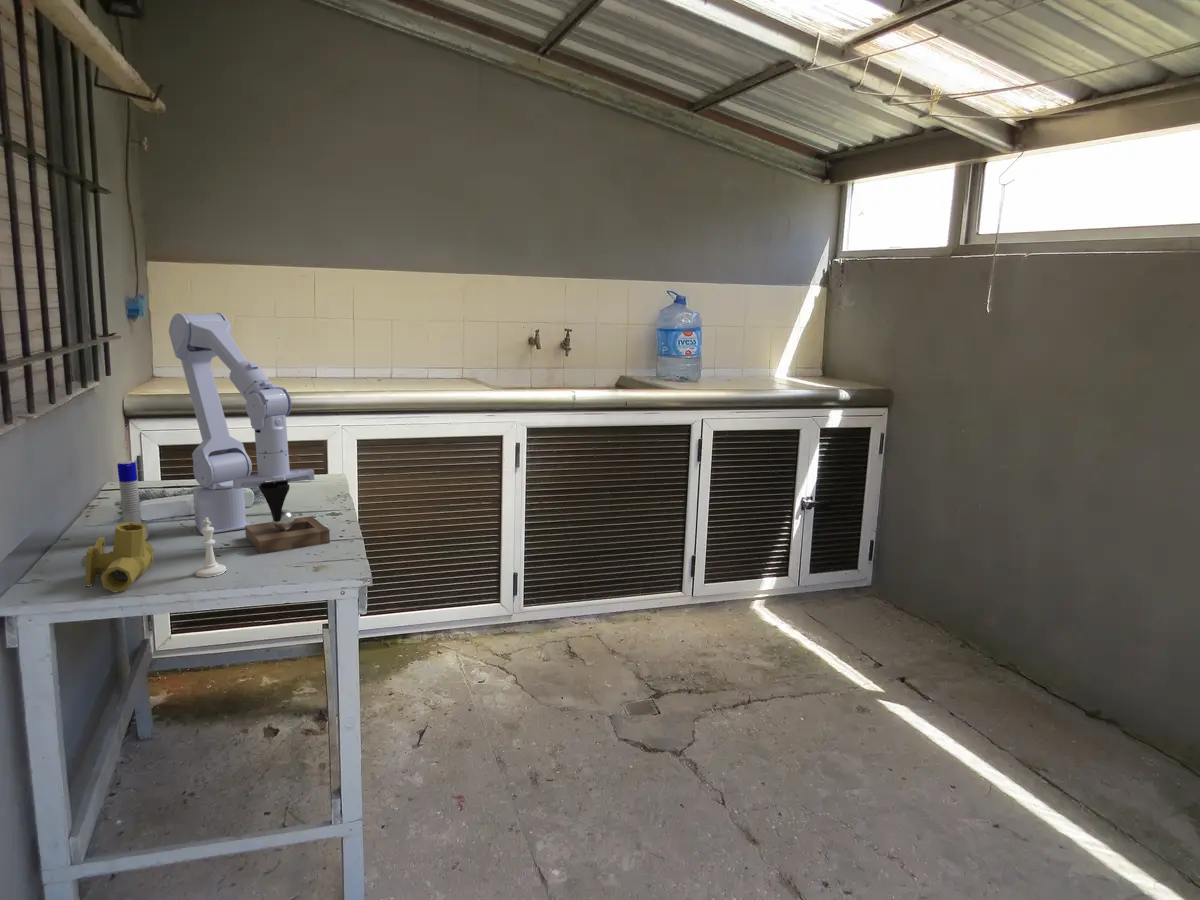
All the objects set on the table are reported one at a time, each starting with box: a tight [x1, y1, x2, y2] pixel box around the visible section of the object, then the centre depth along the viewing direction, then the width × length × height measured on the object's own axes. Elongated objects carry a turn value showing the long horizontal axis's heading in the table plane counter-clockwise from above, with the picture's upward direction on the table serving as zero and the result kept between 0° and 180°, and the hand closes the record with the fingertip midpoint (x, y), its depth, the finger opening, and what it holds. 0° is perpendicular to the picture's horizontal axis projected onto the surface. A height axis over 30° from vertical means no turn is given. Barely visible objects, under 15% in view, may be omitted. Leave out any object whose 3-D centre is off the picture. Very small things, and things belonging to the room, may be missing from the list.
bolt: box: [117, 460, 149, 541], centre depth 158 cm, size 16×5×5 cm
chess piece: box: [195, 517, 227, 578], centre depth 141 cm, size 5×5×10 cm
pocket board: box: [244, 515, 331, 555], centre depth 161 cm, size 13×12×2 cm
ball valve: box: [80, 522, 155, 593], centre depth 137 cm, size 13×10×10 cm
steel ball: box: [272, 509, 295, 530], centre depth 159 cm, size 4×4×4 cm
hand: (277, 520), depth 158 cm, fingers closed, pressing on steel ball
